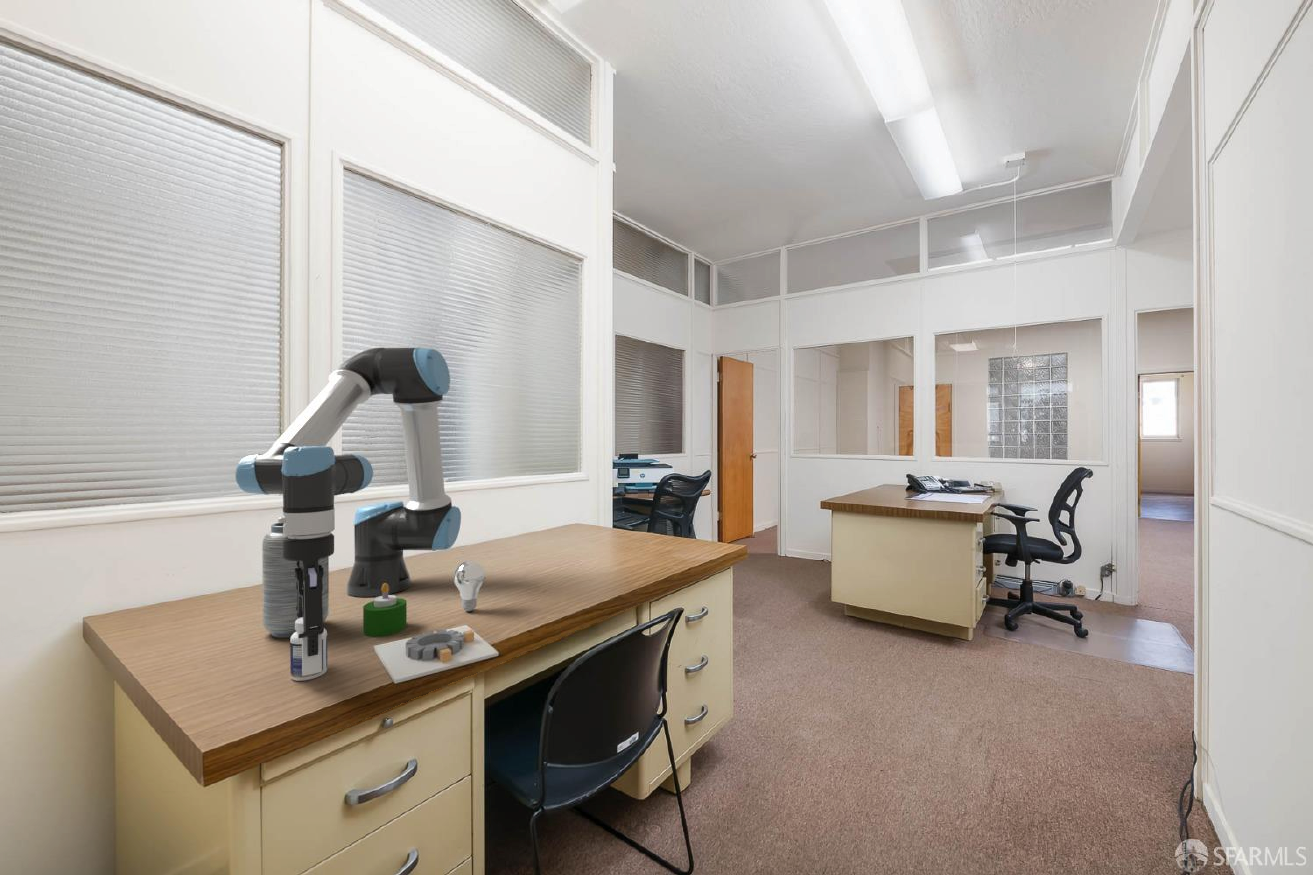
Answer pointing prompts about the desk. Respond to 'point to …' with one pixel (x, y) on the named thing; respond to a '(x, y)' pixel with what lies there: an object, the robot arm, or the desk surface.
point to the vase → (284, 586)
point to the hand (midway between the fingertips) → (309, 662)
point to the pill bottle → (297, 654)
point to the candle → (384, 615)
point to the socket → (433, 652)
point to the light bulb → (469, 583)
